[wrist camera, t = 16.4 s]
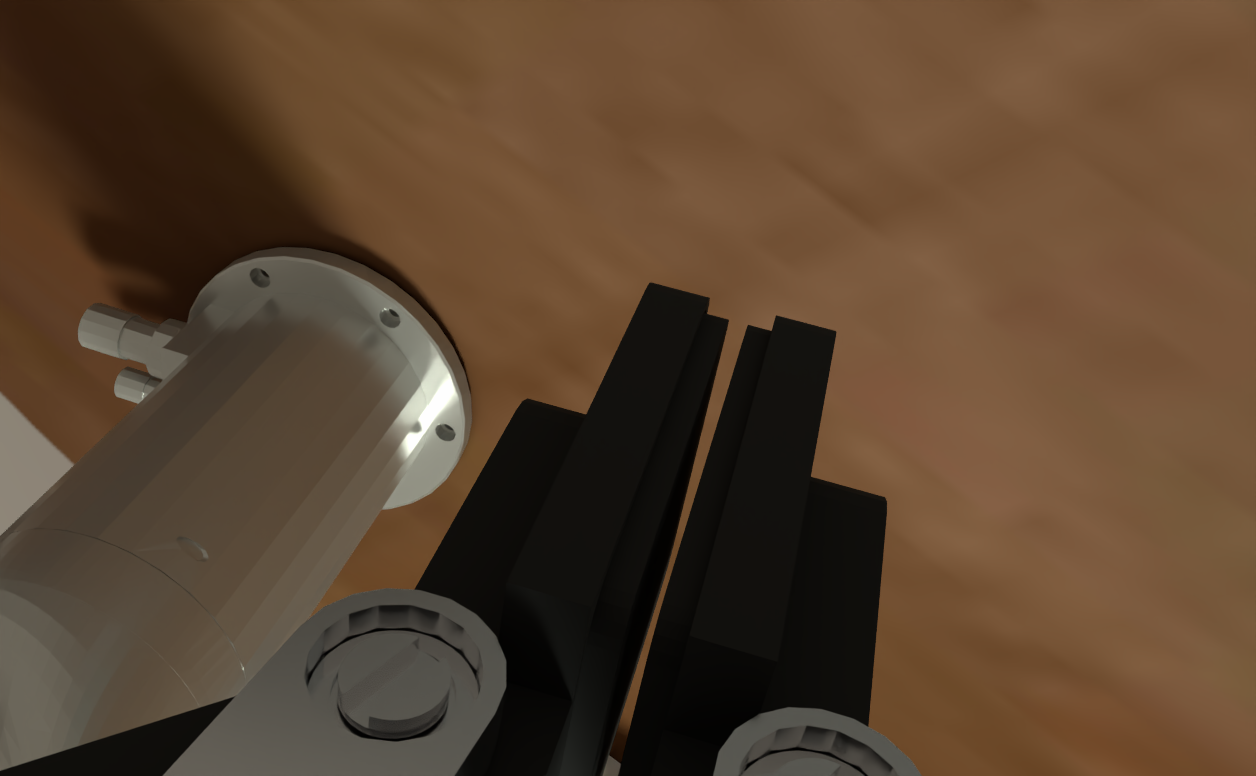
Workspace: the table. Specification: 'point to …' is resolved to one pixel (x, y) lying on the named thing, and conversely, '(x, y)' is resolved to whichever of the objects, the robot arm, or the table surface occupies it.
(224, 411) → the robot arm
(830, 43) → the table surface
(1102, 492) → the table surface
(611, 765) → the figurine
